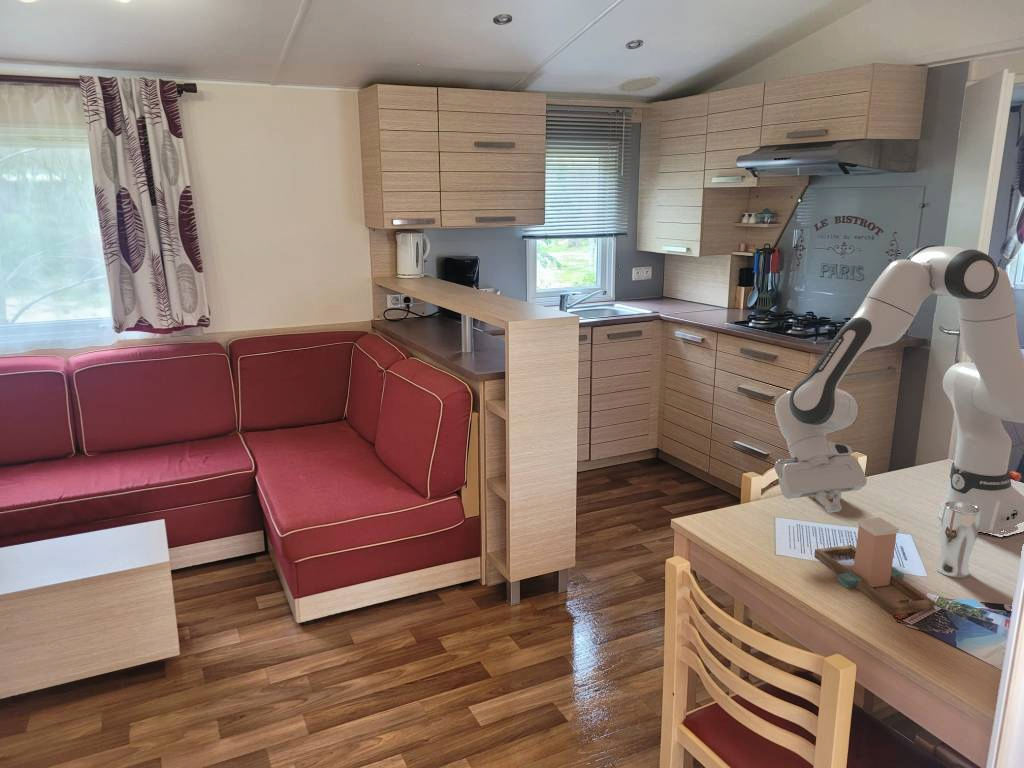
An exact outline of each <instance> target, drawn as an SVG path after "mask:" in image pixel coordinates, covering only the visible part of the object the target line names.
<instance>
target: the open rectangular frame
mask: <svg viewBox="0 0 1024 768" xmlns="http://www.w3.org/2000/svg"><path fill="white" fill-rule="evenodd" d="M855 553H856V546H854V545H853V544H850V545H848V544H847V545H842V546H841V545H840V546H832V547H823V548H817V549H815V548H814V554H813V555H815V556H816V557H817V558H816V557H815V556H814V557H815V558H816V559H817V560H819V559H820V560H821V561H820V560H819V561H820V562H822V563H823V564H824V565H826V566H827V567H828V568H829V569H831V570H832V571H833V572H835V573H836V574H837V582H838V583H839V584H841V586H843V587H845V589H850V588H856V589H857V590H859V592H861V593H863V594H864V595H865V596H866V597H868V598H869V599H870V600H872V601H873V602H874V603H875V604H877V605H878V606H880V607H881V608H882V609H884V611H886V612H887V613H889V614H890V615H892V616H897V615H905V614H912V613H919V611H920V612H926V611H925V610H927V611H932V610H935V605H936V602H935V601H934V600H933V599H931V598H930V597H928V595H925V594H924V593H922V592H921V591H920V590H918V589H917V588H915V587H914V586H912V585H911V584H910V583H908V582H906V581H905V580H904V579H903V578H904V573H903V572H902V571H900V570H898V569H897V568H896V567H893V566H892V570H891V577H890V584H891V585H892V586H893V587H896V588H897V589H898V590H900V592H902V593H903V594H905V595H906V596H908V597H909V598H911V599H912V600H913V601H907V602H900V603H894V602H893V601H891V600H890V599H888V598H887V597H886V596H884V595H883V594H882V593H880V592H879V591H878V590H877V589H875V587H871V586H869V585H868V584H867V583H865V582H864V581H863V580H861V579H860V578H859V577H857V576H856V575H855V574H853V571H850V570H849V569H848V568H847V567H845V566H844V565H842V564H841V563H839V561H837V560H835V559H834V558H833V557H837V556H836V555H841V556H847V554H849V555H850V554H851V555H852V558H854V557H855ZM851 555H850V556H851ZM830 556H833V557H830Z"/></svg>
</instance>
